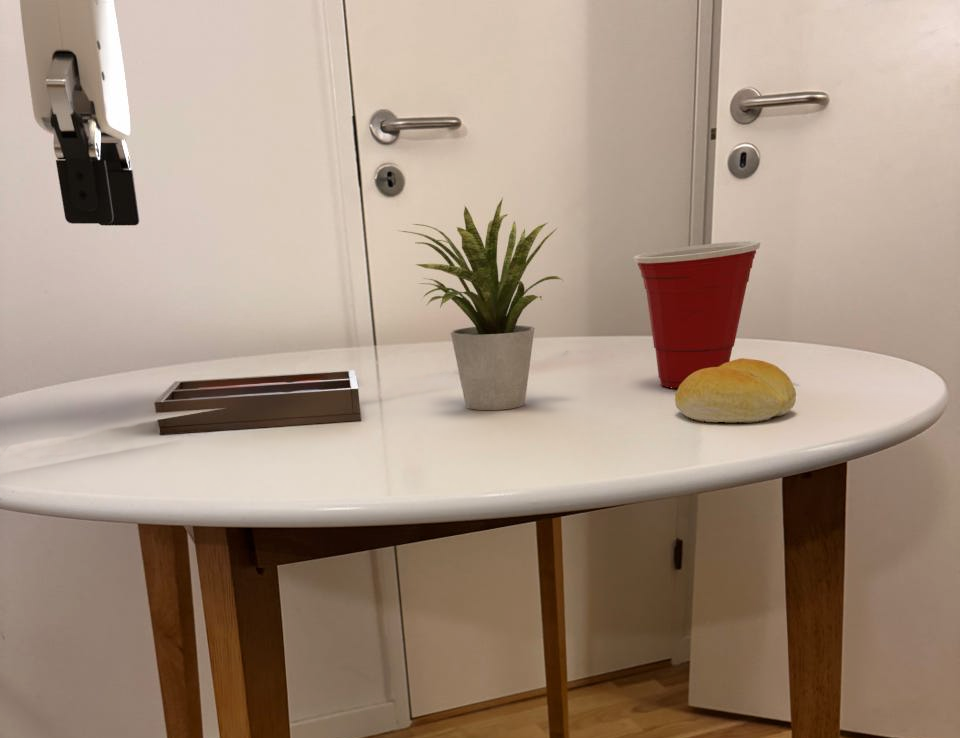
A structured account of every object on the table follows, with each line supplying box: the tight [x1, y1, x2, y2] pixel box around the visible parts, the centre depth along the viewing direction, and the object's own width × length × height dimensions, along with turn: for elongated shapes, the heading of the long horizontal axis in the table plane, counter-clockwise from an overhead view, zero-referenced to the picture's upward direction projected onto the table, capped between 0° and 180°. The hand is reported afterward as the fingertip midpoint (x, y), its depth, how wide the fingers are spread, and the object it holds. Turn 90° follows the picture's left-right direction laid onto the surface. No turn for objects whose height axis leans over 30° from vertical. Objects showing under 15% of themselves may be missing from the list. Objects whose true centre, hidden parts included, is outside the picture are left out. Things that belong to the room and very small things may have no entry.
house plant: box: [396, 196, 563, 411], centre depth 79 cm, size 14×14×16 cm
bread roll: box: [674, 357, 797, 424], centre depth 72 cm, size 8×9×4 cm
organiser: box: [153, 369, 362, 436], centre depth 81 cm, size 16×11×3 cm
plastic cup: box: [632, 240, 761, 389], centre depth 84 cm, size 11×11×12 cm
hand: (105, 224), depth 71 cm, fingers open, 9 cm apart
